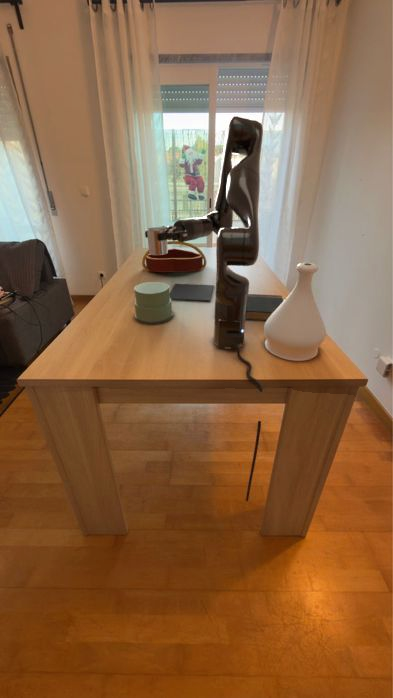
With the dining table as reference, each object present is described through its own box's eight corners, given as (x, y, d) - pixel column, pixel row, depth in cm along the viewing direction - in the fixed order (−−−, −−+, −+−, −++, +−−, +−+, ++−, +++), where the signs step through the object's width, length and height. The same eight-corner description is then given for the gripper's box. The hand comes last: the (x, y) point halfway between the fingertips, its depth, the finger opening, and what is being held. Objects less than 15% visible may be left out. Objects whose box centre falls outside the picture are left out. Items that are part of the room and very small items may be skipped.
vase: (255, 333, 93) (265, 256, 80) (307, 331, 94) (325, 254, 81) (271, 364, 78) (286, 275, 65) (331, 361, 79) (359, 273, 66)
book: (215, 318, 103) (285, 322, 100) (215, 309, 101) (287, 313, 98) (218, 299, 117) (280, 302, 114) (219, 291, 115) (281, 294, 112)
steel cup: (163, 255, 97) (161, 230, 93) (146, 254, 99) (143, 229, 94) (170, 251, 102) (169, 227, 98) (154, 250, 104) (152, 226, 100)
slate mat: (209, 301, 115) (209, 300, 115) (166, 299, 118) (166, 298, 117) (213, 286, 131) (213, 285, 130) (175, 284, 133) (175, 283, 132)
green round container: (168, 325, 98) (166, 295, 92) (129, 323, 99) (125, 293, 93) (176, 309, 109) (175, 281, 103) (141, 307, 111) (138, 279, 105)
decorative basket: (206, 266, 165) (206, 239, 159) (206, 274, 138) (206, 242, 132) (148, 267, 166) (146, 240, 159) (138, 275, 139) (134, 243, 133)
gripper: (176, 216, 108) (138, 221, 98) (201, 220, 99) (163, 226, 89) (177, 237, 112) (141, 244, 102) (201, 243, 103) (165, 251, 93)
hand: (151, 236), depth 96 cm, fingers closed on steel cup, 6 cm apart
